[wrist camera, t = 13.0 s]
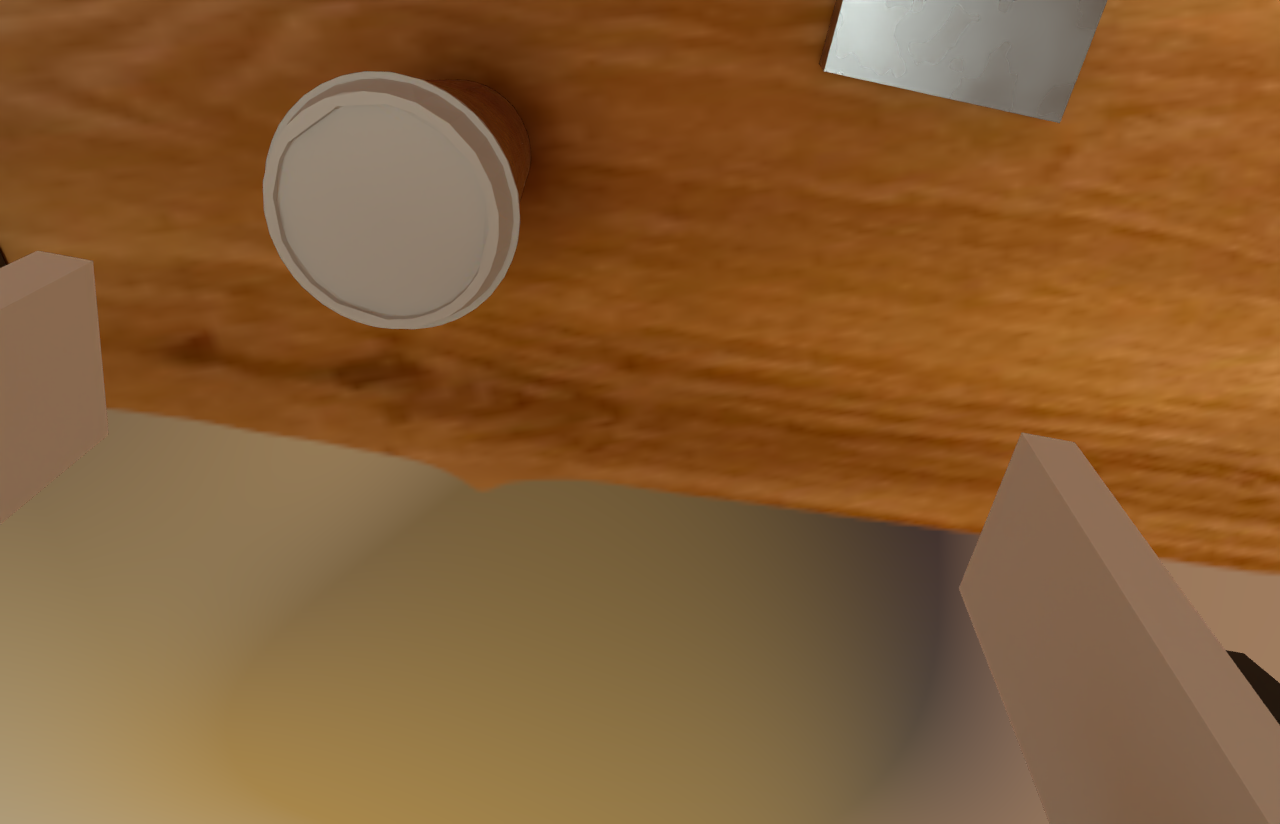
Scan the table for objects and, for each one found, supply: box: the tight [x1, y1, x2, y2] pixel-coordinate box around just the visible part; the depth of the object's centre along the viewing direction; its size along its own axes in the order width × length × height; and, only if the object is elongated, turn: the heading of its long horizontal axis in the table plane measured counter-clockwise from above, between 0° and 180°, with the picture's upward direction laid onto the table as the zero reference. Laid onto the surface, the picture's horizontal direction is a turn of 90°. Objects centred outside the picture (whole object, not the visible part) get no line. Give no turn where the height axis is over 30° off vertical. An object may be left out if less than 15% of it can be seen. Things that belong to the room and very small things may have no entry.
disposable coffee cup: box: [263, 71, 531, 329], centre depth 39 cm, size 10×10×12 cm
